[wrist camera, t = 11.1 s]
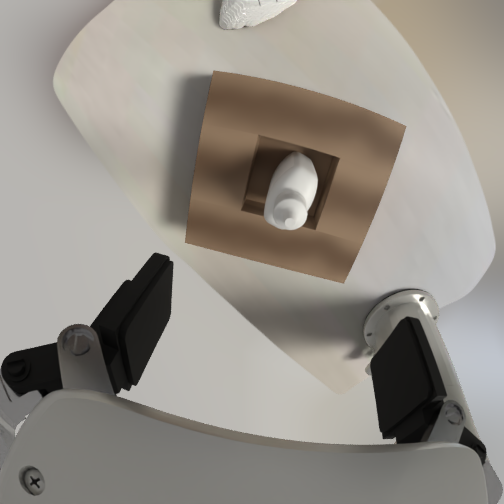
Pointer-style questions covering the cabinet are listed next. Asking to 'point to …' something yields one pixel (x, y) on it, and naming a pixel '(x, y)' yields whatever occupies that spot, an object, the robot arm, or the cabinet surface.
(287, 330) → the cabinet surface
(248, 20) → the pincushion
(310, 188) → the eye dropper bottle
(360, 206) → the walnut socket block
